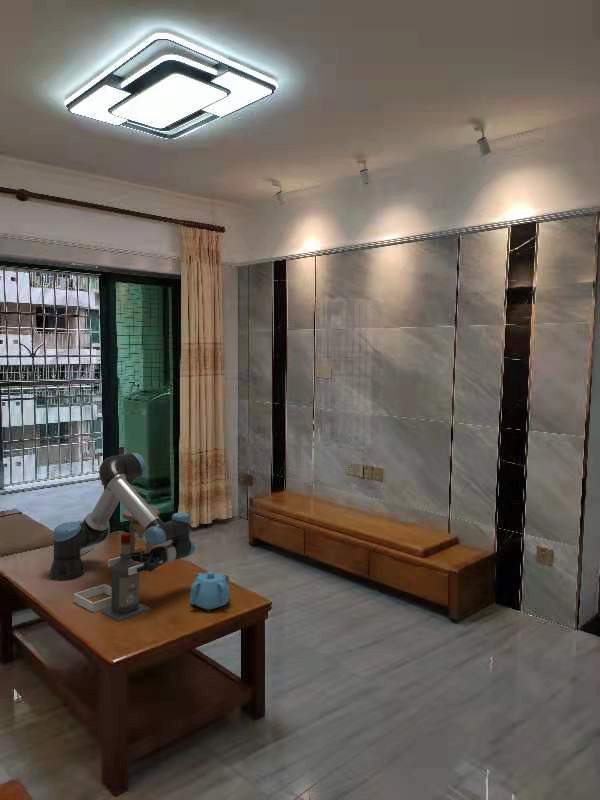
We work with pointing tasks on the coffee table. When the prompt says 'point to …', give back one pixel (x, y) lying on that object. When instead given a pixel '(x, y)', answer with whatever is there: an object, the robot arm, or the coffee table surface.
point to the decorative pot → (210, 590)
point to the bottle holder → (83, 595)
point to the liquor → (125, 580)
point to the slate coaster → (124, 616)
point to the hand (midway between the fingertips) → (118, 567)
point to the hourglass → (139, 529)
